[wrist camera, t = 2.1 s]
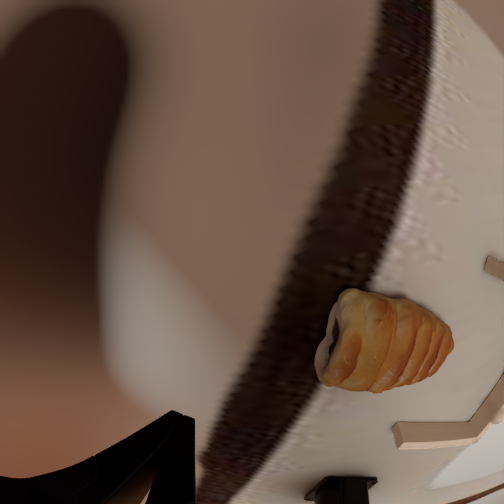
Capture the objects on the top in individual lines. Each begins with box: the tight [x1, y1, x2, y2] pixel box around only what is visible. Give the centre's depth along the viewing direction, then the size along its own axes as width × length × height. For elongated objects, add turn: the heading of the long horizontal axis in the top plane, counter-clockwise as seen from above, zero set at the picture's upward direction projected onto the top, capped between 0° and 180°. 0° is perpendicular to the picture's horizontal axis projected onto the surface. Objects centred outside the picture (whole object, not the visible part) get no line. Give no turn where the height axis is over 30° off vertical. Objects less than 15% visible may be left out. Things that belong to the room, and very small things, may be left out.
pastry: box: [314, 288, 454, 393], centre depth 14 cm, size 9×7×4 cm
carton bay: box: [392, 256, 504, 450], centre depth 13 cm, size 16×11×3 cm
